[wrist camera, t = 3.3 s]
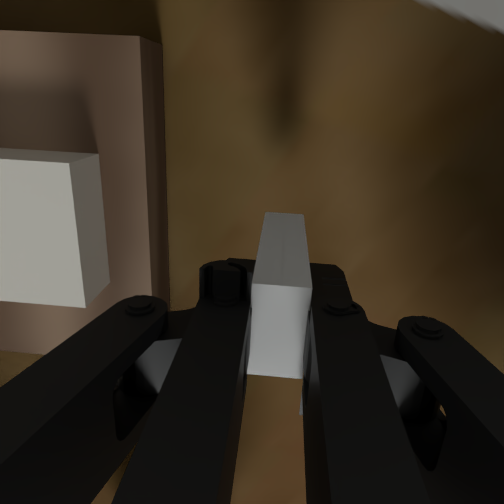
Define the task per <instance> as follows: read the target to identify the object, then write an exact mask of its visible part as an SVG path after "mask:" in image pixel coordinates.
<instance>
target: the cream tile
mask: <svg viewBox="0 0 504 504" xmlns="http://www.w3.org/2000/svg"><path fill="white" fill-rule="evenodd" d="M109 283H110V277H109V265H108V254H107V243H106V231H105V220H104V209H103V197H102V186H101V175H100V163H99V154H93V153H76V152H60V151H44V150H27V149H11V148H0V301H9V302H21V303H33V304H45V305H56V306H68V307H80V308H86V307H87V306H88V305H89V304H90V303H91V302H92V301H93V300H94V299H95V298H96V297H97V296H98V294H99V293H100V292H101V291H102V290H103V289H104V288H105V287H106V286H107V285H108V284H109Z"/></svg>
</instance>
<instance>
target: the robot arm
mask: <svg viewBox="0 0 504 504" xmlns="http://www.w3.org/2000/svg"><path fill="white" fill-rule="evenodd" d="M303 368H304V377H303ZM247 374H254V375H265V376H276V377H287V378H297V379H302V377H303V386H302V395H301V404H300V412H299V415H303V429H304V454H305V478H306V502H307V504H504V374H503V373H502V372H500V371H499V370H498V369H497V368H496V367H495V366H494V365H493V364H492V363H490V362H489V361H488V360H487V359H486V358H485V357H484V356H483V355H481V354H480V353H479V352H478V351H477V350H476V349H475V348H474V347H473V346H471V345H470V344H469V343H468V342H467V341H466V340H465V339H464V338H462V337H461V336H460V335H459V334H458V333H457V332H456V331H455V330H454V329H452V328H451V327H449V326H448V325H446V324H445V323H442V322H440V321H438V320H436V319H434V318H431V317H429V318H428V317H426V316H409V317H404V318H402V319H401V320H399V322H398V326H397V330H396V329H392V328H388V327H384V326H380V325H377V324H374V323H372V322H370V321H368V319H367V317H366V314H365V311H364V310H363V308H362V307H361V306H360V305H359V304H357V303H355V302H354V301H353V300H352V297H351V294H350V291H349V287H348V284H347V281H346V278H345V275H344V272H343V271H342V270H341V269H340V268H339V267H337V266H336V265H331V264H318V263H309V256H308V248H307V240H306V232H305V224H304V216H303V214H289V213H274V212H265V217H264V222H263V227H262V233H261V238H260V243H259V248H258V253H257V259H256V260H249V259H236V258H229V259H227V260H219V261H213V262H209V263H206V264H204V265H203V266H202V267H201V268H200V269H199V300H198V303H197V305H196V307H195V308H191V309H188V310H181V311H171V312H168V307H167V303H166V302H165V301H164V300H163V299H161V298H158V297H155V296H148V295H141V296H139V295H135V296H133V297H129V298H125V299H123V300H121V301H119V302H117V303H116V304H114V305H113V306H112V307H110V308H109V309H107V310H106V311H105V312H103V313H102V314H101V315H99V316H98V317H96V318H95V319H94V320H92V321H91V322H90V323H88V324H87V325H85V326H84V327H83V328H81V329H80V330H79V331H77V332H76V333H74V334H73V335H72V336H70V337H69V338H68V339H66V340H65V341H64V342H62V343H61V344H59V345H58V346H57V347H55V348H54V349H53V350H51V351H50V352H48V353H47V354H46V355H44V356H43V357H42V358H40V359H39V360H37V361H36V362H35V363H33V364H32V365H31V366H29V367H28V368H26V369H25V370H24V371H22V372H21V373H20V374H18V375H17V376H15V377H14V378H13V379H11V380H10V381H9V382H7V383H6V384H4V385H3V386H2V387H0V504H91V502H92V501H93V500H94V498H95V497H96V496H97V494H98V493H99V492H100V490H101V489H102V488H103V487H104V485H105V484H106V483H107V481H108V480H109V479H110V477H111V476H112V475H113V473H114V472H115V471H116V469H117V468H118V467H119V465H120V464H121V463H122V461H123V460H124V459H125V457H126V456H127V455H128V453H129V452H130V451H131V449H132V448H133V447H134V446H135V444H136V443H137V442H138V443H137V445H136V447H135V450H134V452H133V454H132V457H131V459H130V461H129V464H128V466H127V468H126V471H125V473H124V475H123V478H122V480H121V482H120V485H119V487H118V489H117V492H116V494H115V496H114V499H113V501H112V503H111V504H230V501H231V494H232V486H233V479H234V472H235V465H236V458H237V450H238V443H239V436H240V429H241V422H242V415H243V407H244V400H245V393H246V385H247ZM441 405H442V407H443V408H444V411H445V414H446V416H445V415H444V414H443V413H442V412H441V410H440V406H441Z"/></svg>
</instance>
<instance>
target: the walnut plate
mask: <svg viewBox="0 0 504 504" xmlns="http://www.w3.org/2000/svg"><path fill="white" fill-rule="evenodd" d="M0 148H11V149H27V150H44V151H60V152H76V153H93V154H99V163H100V175H101V186H102V197H103V209H104V220H105V231H106V243H107V254H108V265H109V277H110V283H109V284H108V285H107V286H106V287H105V288H104V289H103V290H102V291H101V292H100V293H99V294H98V296H97V297H96V298H95V299H94V300H93V301H92V302H91V303H90V304H89V305H88V306H87V307H86V308H80V307H68V306H56V305H45V304H33V303H21V302H9V301H0V350H1V351H12V352H22V353H33V354H44V355H46V354H47V353H48V352H50V351H51V350H53V349H54V348H55V347H57V346H58V345H59V344H61V343H62V342H64V341H65V340H66V339H68V338H69V337H70V336H72V335H73V334H74V333H76V332H77V331H79V330H80V329H81V328H83V327H84V326H85V325H87V324H88V323H90V322H91V321H92V320H94V319H95V318H96V317H98V316H99V315H101V314H102V313H103V312H105V311H106V310H107V309H109V308H110V307H112V306H113V305H114V304H116V303H117V302H119V301H121V300H123V299H125V298H129V297H133V296H135V295H139V296H141V295H148V296H155V297H158V298H161V299H163V300H164V301H165V302H166V303H167V307H168V312H170V290H169V257H168V223H167V189H166V155H165V122H164V88H163V54H162V45H161V44H159V43H156V42H153V41H151V40H148V39H146V38H143V37H141V36H127V35H103V34H80V33H56V32H33V31H10V30H0Z"/></svg>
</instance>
